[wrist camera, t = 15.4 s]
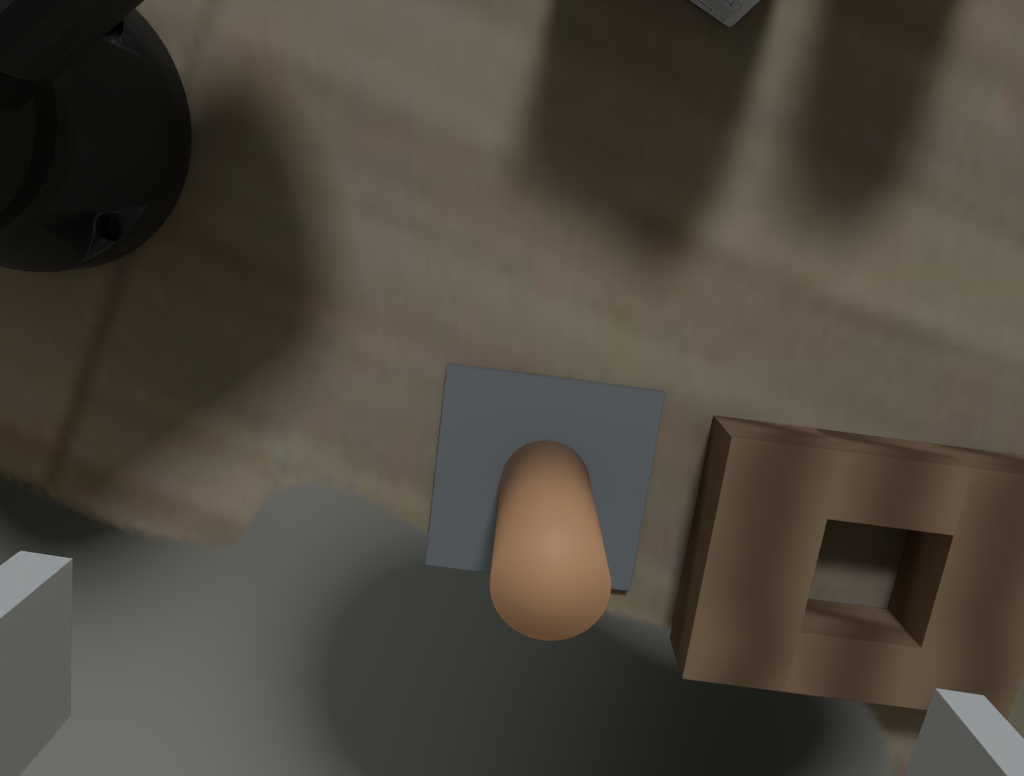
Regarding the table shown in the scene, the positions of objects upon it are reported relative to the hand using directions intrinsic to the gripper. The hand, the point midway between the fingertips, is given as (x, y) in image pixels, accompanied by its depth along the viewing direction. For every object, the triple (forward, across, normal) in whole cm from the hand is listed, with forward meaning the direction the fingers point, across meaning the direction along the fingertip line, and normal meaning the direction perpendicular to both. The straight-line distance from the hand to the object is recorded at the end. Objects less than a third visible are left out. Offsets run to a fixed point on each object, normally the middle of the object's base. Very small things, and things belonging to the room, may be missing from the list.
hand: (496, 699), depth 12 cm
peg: (+30, +3, -8) cm, 32 cm away
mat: (+31, +3, -8) cm, 32 cm away
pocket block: (+30, +21, -10) cm, 38 cm away
